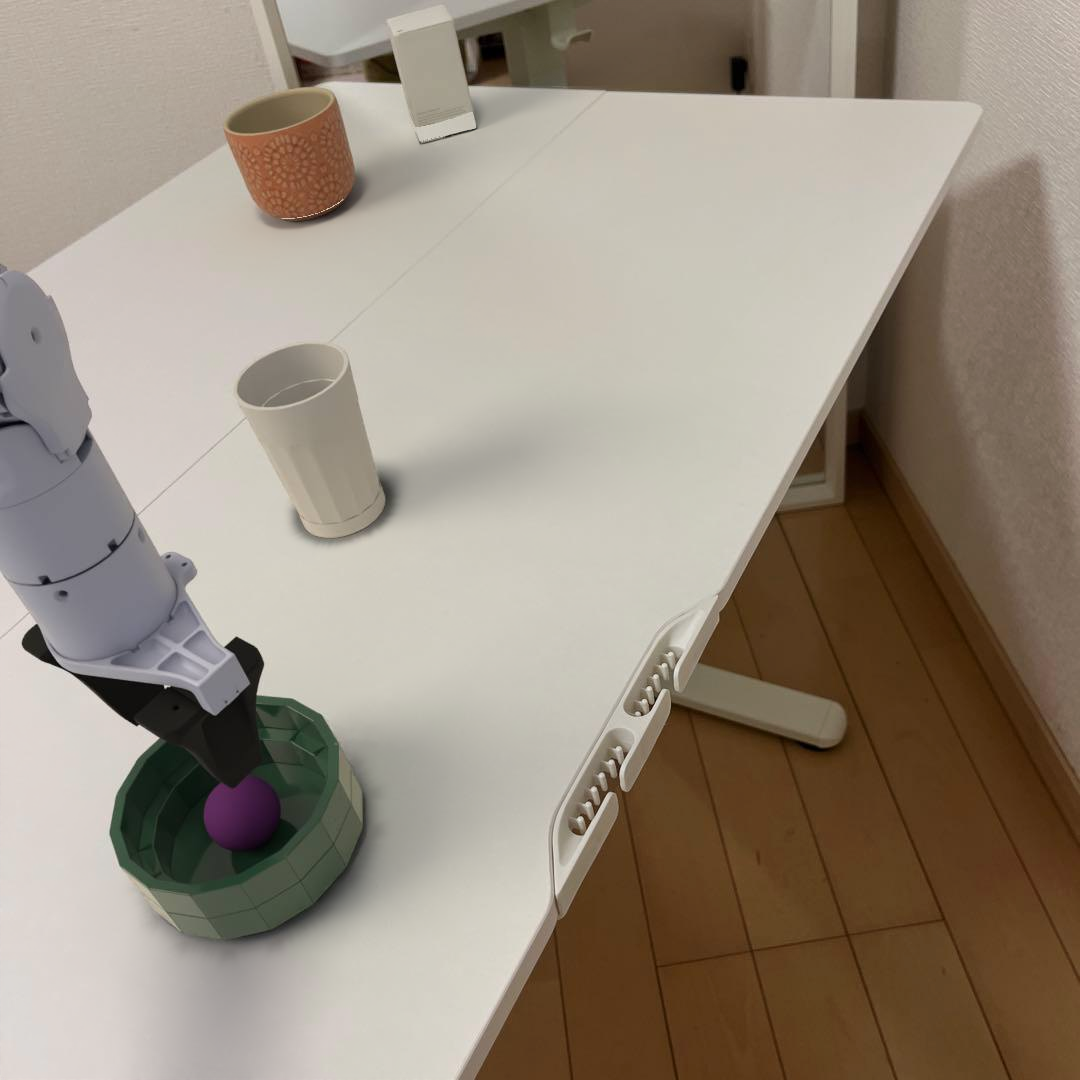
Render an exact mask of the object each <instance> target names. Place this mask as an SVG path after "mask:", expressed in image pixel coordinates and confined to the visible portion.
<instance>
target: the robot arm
mask: <svg viewBox="0 0 1080 1080" xmlns="http://www.w3.org/2000/svg"><path fill="white" fill-rule="evenodd" d="M68 338H69V337H68V334H67V330H66V327H65V324H64V321H63V319H62V316H61V313H60V311H59V309H58V306H57V304H56V302H55V300H54V298H53V296H52V295H51V294H49V295H46V293H45V291H44V290H43V289H42V287H41V286H40V285H39V284H38V282H36V281H35V280H34V279H33V278H32V277H31V276H29V275H28V274H26V273H25V272H22V271H20V270H16V269H15V270H14V269H10V270H8V267H7V266H6V265H4V264H2V263H0V573H1V575H2V576H3V578H4V579H5V581H6V582H7V583H8V585H9V586H10V588H11V589H12V590H13V592H14V593H15V595H16V596H17V597H18V599H19V600H20V602H21V603H22V605H23V606H24V607H25V609H26V610H27V612H28V613H29V615H30V616H31V617H32V619H33V621H34V622H35V624H34V625H33V626H32V627H30V628H29V629H28V630H27V631H26V632H25V633H24V635H23V637H22V639H21V647H22V649H23V650H24V651H26V652H27V653H28V654H29V655H31V656H33V657H34V658H36V659H38V660H39V661H40V662H42V663H46V664H48V665H51V666H53V667H56V668H59V669H61V670H63V671H65V672H67V673H69V674H70V675H72V676H73V677H74V678H75V679H76V680H78V681H79V682H81V683H82V684H83V685H84V686H86V688H88V689H89V690H90V691H91V692H92V693H93V694H94V695H95V696H97V698H99V699H100V700H101V701H102V702H103V703H105V704H106V705H107V706H108V707H109V708H110V709H111V710H112V711H113V712H115V713H116V714H117V715H118V716H120V717H121V718H123V719H124V720H125V721H127V722H128V723H130V724H132V725H133V726H135V727H139V726H140V727H141V728H144V729H145V730H146V731H148V732H150V733H151V734H153V735H154V736H155V737H158V739H159V738H161V739H163V740H165V741H167V742H169V743H172V744H174V745H176V746H180V747H184V748H185V749H186V750H187V751H188V752H189V753H190V754H191V755H192V756H193V757H194V758H195V759H196V760H197V761H198V762H199V763H200V764H201V765H202V766H203V767H204V768H205V769H206V770H207V771H208V772H209V773H210V774H211V775H212V776H213V777H214V778H216V779H217V780H219V781H220V782H222V783H223V784H225V785H226V786H228V787H229V788H231V789H233V788H235V787H236V786H237V785H238V784H239V783H240V782H241V781H242V780H243V779H244V778H245V777H246V776H247V775H248V774H250V773H251V772H252V771H253V770H254V769H255V768H256V767H257V766H258V765H259V764H260V763H261V762H262V750H261V743H260V737H259V731H258V725H257V717H256V697H257V695H258V691H259V685H260V681H261V678H262V674H263V671H264V669H265V662H264V659H263V656H262V653H261V652H260V650H259V648H257V647H256V646H255V645H254V644H252V643H250V642H248V641H246V640H244V639H243V638H240V637H239V636H237V635H236V636H235V637H233V638H232V639H231V640H230V641H229V642H228V643H227V644H225V645H224V646H223V645H222V643H220V642H219V641H218V640H217V639H216V638H215V636H214V634H213V633H212V632H211V630H210V628H209V626H208V625H207V623H206V622H205V620H204V619H203V617H202V615H201V613H200V612H199V610H198V608H197V607H196V606H195V603H194V602H193V600H192V599H191V597H190V595H189V594H188V592H187V590H186V589H187V586H188V584H189V583H191V582H192V581H193V580H194V579H195V578H196V576H197V575H198V569H197V567H196V565H195V563H194V561H192V560H191V558H188V557H187V556H184V555H182V554H180V553H179V552H177V551H167V552H165V553H163V554H161V555H160V552H159V551H158V550H157V547H156V546H155V544H154V542H153V540H152V538H151V537H150V535H149V534H148V533H149V532H148V531H147V530H146V528H145V526H144V524H143V523H142V521H141V519H140V518H139V515H138V514H137V511H136V510H135V508H134V507H133V505H132V503H131V501H130V499H129V498H128V497H129V496H127V494H126V492H125V490H124V488H123V487H122V485H121V483H120V482H119V479H118V478H117V476H116V474H115V472H114V470H113V469H112V467H111V466H110V463H109V461H108V460H107V458H106V456H105V454H104V453H103V451H102V449H101V447H100V446H99V444H98V442H97V441H96V439H95V437H94V434H93V433H92V431H91V429H90V428H89V425H90V423H91V420H92V418H93V411H92V409H91V407H90V404H89V400H90V397H89V396H88V395H87V392H86V390H85V389H84V386H83V385H82V383H81V381H80V379H79V377H78V375H77V372H76V369H75V366H74V363H73V359H72V352H71V347H70V342H69V339H68ZM165 686H167V687H165Z"/></svg>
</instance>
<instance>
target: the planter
mask: <svg viewBox="0 0 1080 1080" xmlns="http://www.w3.org/2000/svg"><path fill="white" fill-rule="evenodd" d="M222 128H223V134H224V137H225V139H226V141H227V144H228V147H229V149H230V151H231V154H232V156H233V158H234V161H235V164H236V165H237V168H238V170H239V172H240V174H241V177H242V179H243V181H244V184H245V187H246V189H247V191H248V193H249V195H250V197H251V199H252V201H253V202H254V203H255V205H256V206H257V207H258V208H259V209H260V210H261V211H263V212H264V214H267V215H269V216H271V217H272V218H275V219H279V220H281V221H286V222H302V221H308V220H313V219H316V218H319V217H322V216H325V215H326V214H327V215H328V214H329V213H331V212H332V211H334V210H336V209H337V208H338V207H339V206H340V205H341V204H342V203H344V201H346V199H347V197H348V196H349V194H350V193H351V191H352V189H353V187H354V183H355V179H356V178H355V177H356V169H355V163H354V157H353V154H352V150H351V146H350V142H349V138H348V135H347V130H346V126H345V122H344V119H343V115H342V111H341V108H340V104H339V102H338V99H337V97H336V95H335V93H334V92H333V91H331V90H330V89H328V88H324V87H319V86H305V87H304V86H303V87H295V88H289V89H284V90H280V91H276V92H273V93H269V94H265V95H263V96H260V97H258V98H255V99H253V100H251V101H249V102H247V103H245V104H243V105H241V106H239V107H237V108H236V109H234V111H232V112H231V113H229V115H228V116H227V117H225V119H224V121H223V124H222ZM349 192H350V193H349ZM347 195H348V196H347ZM346 196H347V197H346ZM345 197H346V198H345ZM344 198H345V199H344ZM342 199H344V200H343V201H341V200H342ZM340 201H341V202H340ZM338 202H340V203H339V204H337V203H338ZM335 204H337V205H335ZM333 205H335V206H334V207H332V206H333ZM330 207H332V208H330ZM327 208H330V209H328V210H326V209H327ZM323 210H325V211H323ZM321 211H323V212H321ZM319 212H320V213H319ZM315 213H318V214H315ZM311 214H314V215H311ZM308 215H311V216H308ZM303 216H307V217H303ZM276 217H277V218H276ZM297 217H302V218H297ZM281 218H295V219H281Z"/></svg>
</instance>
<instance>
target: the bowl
mask: <svg viewBox="0 0 1080 1080" xmlns="http://www.w3.org/2000/svg"><path fill="white" fill-rule="evenodd" d="M256 717H257V725H258V731H259V737H260V743H261V750H262V762H261V763H260V764H259V765H258V766H257V767H256V768H255V769H254V770H253V771H252V772H251V773H250V774H248V775H251V776H255V777H258V778H261V779H263V780H264V781H266V782H267V783H268V784H270V785H271V786H272V788H273V789H274V790H275V792H276V793H277V796H278V798H279V801H280V806H281V816H280V821H279V824H278V827H277V829H276V831H275V832H274V834H273V835H272V837H271V838H270V839H269V840H268V841H267V842H265V843H264V844H263V845H261V846H260V847H258V848H255V849H253V850H249V851H243V852H236V851H231V850H227V849H225V848H223V847H221V846H219V845H218V844H217V843H216V842H214V841H213V839H212V838H211V837H210V836H209V834H208V832H207V830H206V827H205V824H204V808H205V804H206V801H207V799H208V797H209V795H210V793H211V792H212V791H213V790H214V789H215V787H216V786H217V785H219V784H220V783H221V782H220V781H219V780H217V779H216V778H214V777H213V776H212V775H211V774H210V773H209V772H208V771H207V770H206V769H205V768H204V767H203V766H202V765H201V764H200V763H199V762H198V761H197V760H196V759H195V758H194V757H193V756H192V755H191V754H190V753H189V752H188V751H187V750H186V749H185V748H184V747H180V746H176V745H174V744H172V743H169V742H167V741H165V740H163V739H161V738H159V737H158V739H157V740H155V742H154V743H152V744H151V745H150V746H149V747H148V748H147V749H146V750H145V751H143V752H142V753H141V755H139V757H137V759H136V761H135V762H134V764H133V766H132V767H131V769H130V771H129V772H128V774H127V776H126V777H125V779H124V780H123V782H122V784H121V785H120V787H119V789H118V791H117V792H116V795H115V797H114V804H113V808H112V814H111V819H110V826H109V830H108V835H109V838H110V842H111V845H112V847H113V850H114V853H115V856H116V860H117V862H118V866H119V867H120V869H121V870H122V872H123V873H124V874H125V875H126V877H127V878H128V879H129V880H130V882H132V884H133V885H134V886H135V887H136V889H137V890H138V891H139V893H140V894H141V895H142V896H143V898H145V900H146V901H147V902H148V904H149V905H150V906H151V907H152V909H153V910H154V911H155V912H156V913H157V914H158V915H159V916H161V917H162V918H163V919H164V920H166V921H167V922H168V923H169V924H171V925H172V926H173V927H174V928H175V929H177V931H179V932H181V933H183V934H187V935H191V936H192V935H193V936H198V937H203V938H209V939H215V940H222V941H224V940H225V941H228V940H231V939H232V940H233V939H236V938H241V937H245V936H249V935H250V936H251V935H253V934H258V933H262V932H263V933H264V932H266V931H270V930H274V929H275V928H277V927H279V926H280V925H282V924H283V923H285V922H287V921H289V920H290V919H291V918H293V917H295V916H297V915H298V914H300V913H302V912H303V911H305V910H307V909H308V908H310V907H312V906H313V905H314V904H315V903H317V901H318V900H319V899H320V898H321V896H322V895H323V894H324V893H325V892H326V891H327V890H328V889H329V887H330V886H331V885H332V884H333V883H334V881H336V880H337V878H339V876H340V875H341V873H343V872H344V870H345V869H346V868H347V867H348V864H349V862H350V860H351V857H352V855H353V851H354V850H355V847H356V846H357V843H358V840H359V838H360V835H361V833H362V832H363V831H362V830H363V826H364V822H363V820H364V818H363V817H364V816H363V790H362V787H361V785H360V783H359V781H358V779H357V777H356V775H355V773H354V771H353V769H352V767H351V765H350V763H349V761H348V759H347V757H346V754H345V753H344V751H343V749H342V747H341V745H340V743H339V741H338V739H337V738H336V736H335V734H334V732H333V730H332V729H331V727H330V725H329V724H328V722H327V720H326V719H325V717H324V715H323V714H321V713H319V712H317V711H316V710H314V709H312V708H311V707H309V706H307V705H305V704H303V703H302V702H300V701H299V700H296V699H294V698H291V697H283V696H282V697H281V696H272V695H271V696H270V695H259V694H257V697H256Z"/></svg>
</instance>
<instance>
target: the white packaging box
mask: <svg viewBox="0 0 1080 1080" xmlns="http://www.w3.org/2000/svg"><path fill="white" fill-rule="evenodd" d="M385 24H386V28H387V32H388V37H389V40H390V45H391V48H392V52H393V55H394V56H393V57H394V61H395V64H396V68H397V71H398V75H399V79H400V84H401V87H402V91H403V95H404V100H405V102H406V103H405V104H406V106H407V110H409V111H408V114H410V115H409V118H410V117H411V119H412V121H413V124H414V125H415V127H421V126H426V125H431V124H435V123H439V122H442V121H445V120H448V119H453V118H455V117H457V116H461V115H463V114H466V113H469V112H473V111H474V106H473V103H472V98H471V94H470V88H469V85H468V80H467V75H466V70H465V66H464V62H463V58H462V53H461V49H460V43H459V39H458V35H457V31H456V26H455V21H454V18H453V16H452V15H451V13H450V12H449V10H448V8H447V7H446V5H445V4H444V3H442V4H439V5H438V4H437V5H434V6H430V7H427V8H426V7H425V8H422V9H419V10H415V11H412V12H409V13H405V14H401V15H398V16H394V17H391V18H387V19H386V20H385ZM411 119H410V120H411ZM453 134H454V133H453ZM440 139H444V138H443V137H441V138H440V136H439V138H437V139H436V137H435V139H432V138H431V140H429V141H428V139H427V141H426V140H425V142H424V140H423V142H422V141H421V143H420V144H424V143H428V142H432V141H437V140H440Z"/></svg>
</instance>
